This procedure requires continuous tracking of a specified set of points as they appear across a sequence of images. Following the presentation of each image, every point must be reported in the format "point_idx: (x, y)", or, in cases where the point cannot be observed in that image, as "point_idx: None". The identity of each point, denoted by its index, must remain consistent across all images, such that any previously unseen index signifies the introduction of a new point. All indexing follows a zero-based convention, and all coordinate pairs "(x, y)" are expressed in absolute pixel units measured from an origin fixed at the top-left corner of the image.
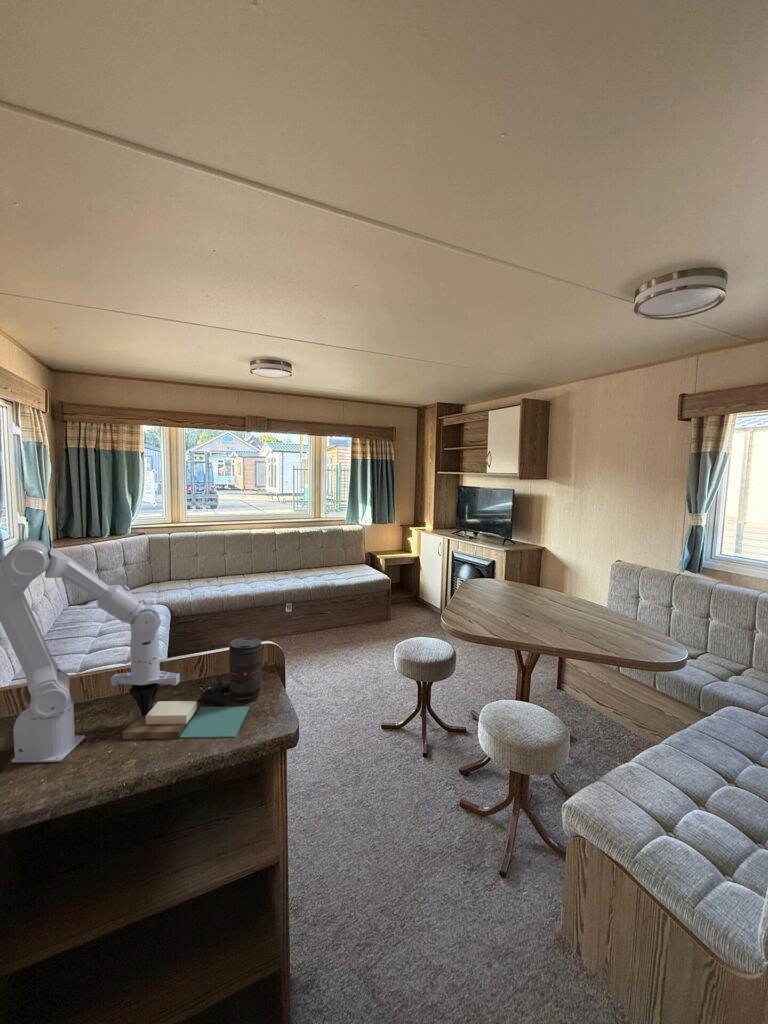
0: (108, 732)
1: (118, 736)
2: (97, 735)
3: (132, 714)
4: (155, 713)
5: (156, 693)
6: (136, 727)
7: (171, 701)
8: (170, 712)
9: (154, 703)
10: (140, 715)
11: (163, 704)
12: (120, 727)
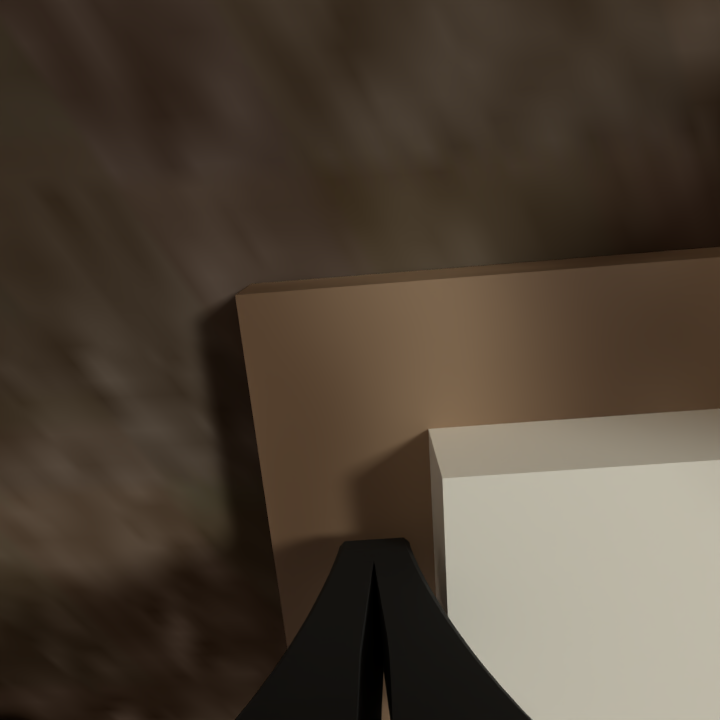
0: (138, 648)
1: (256, 685)
2: (84, 682)
3: (141, 399)
4: (542, 710)
5: (500, 689)
6: (382, 708)
7: (631, 470)
8: (714, 688)
9: (303, 307)
10: (297, 545)
11: (552, 545)
12: (184, 588)
